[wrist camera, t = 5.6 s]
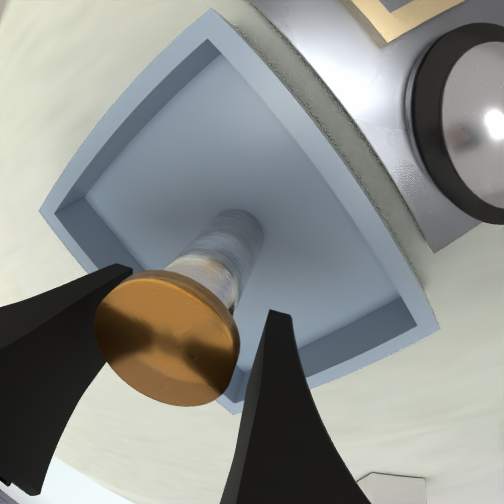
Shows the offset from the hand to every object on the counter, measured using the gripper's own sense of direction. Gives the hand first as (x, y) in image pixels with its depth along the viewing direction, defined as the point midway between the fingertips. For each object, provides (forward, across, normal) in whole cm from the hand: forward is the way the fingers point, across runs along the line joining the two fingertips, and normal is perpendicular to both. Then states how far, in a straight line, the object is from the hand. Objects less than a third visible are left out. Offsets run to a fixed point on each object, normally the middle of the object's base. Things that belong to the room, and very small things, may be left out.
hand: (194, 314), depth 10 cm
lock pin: (+5, 0, 0) cm, 5 cm away
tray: (+6, 0, 0) cm, 6 cm away
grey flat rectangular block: (+6, -6, -10) cm, 14 cm away
